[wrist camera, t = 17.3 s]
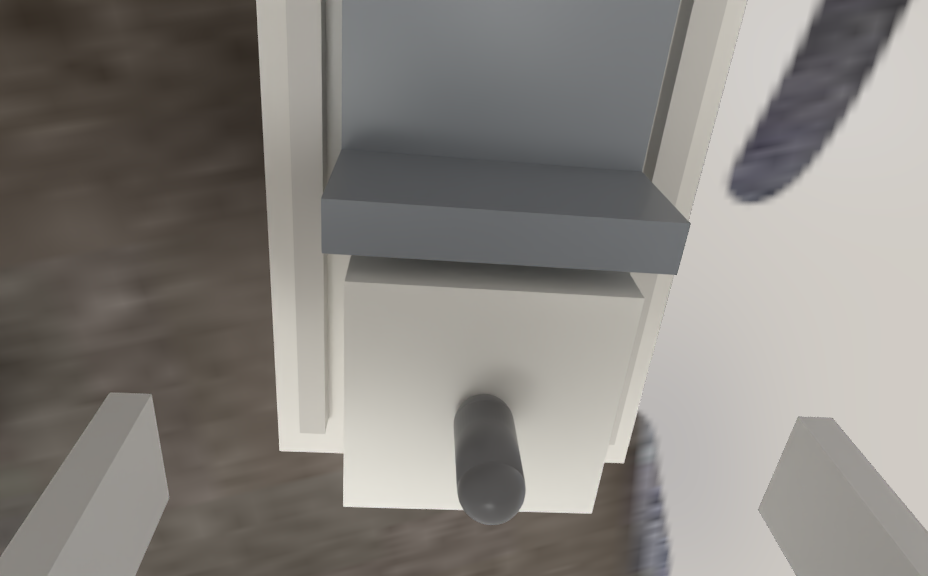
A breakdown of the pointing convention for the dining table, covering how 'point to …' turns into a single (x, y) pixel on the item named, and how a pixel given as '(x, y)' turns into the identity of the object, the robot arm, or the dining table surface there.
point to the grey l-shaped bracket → (503, 134)
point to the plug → (481, 384)
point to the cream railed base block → (323, 275)
